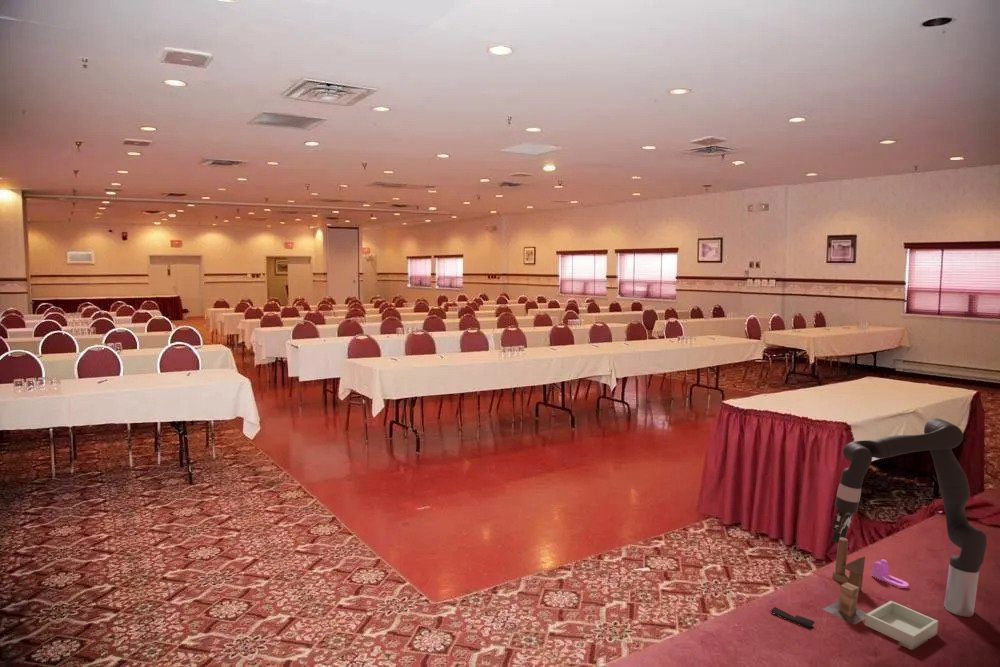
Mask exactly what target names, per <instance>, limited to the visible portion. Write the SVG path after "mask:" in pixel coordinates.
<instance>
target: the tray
mask: <svg viewBox="0 0 1000 667" xmlns="http://www.w3.org/2000/svg"><path fill="white" fill-rule="evenodd" d="M866 613H867V614H866V617H865V619H864V626H866V627H867V628H870V629H872V630H875V631H877V632H879V633H881V634H882V635H885V636H887V637H890V638H891V639H894V640H896V641H897V642H898V643H897V644H898V645H901V646H902V647H904V648H907V649H909V650H911V651H914V650H915V649H916V648H918V647H920V646H921V645H922V644H924V643H926V642H928V641H929V640H930V639H932V638H933V637H935V636H937V634H938V627H939V620H938V619H935V618H932V617H931V616H928V615H926V614H923V613H921V612H918V611H916V610H914V609H911V608H909V607H907V606H905V605H903V604H900V603H898V602H895V601H893V600H889V601H888V602H886V603H883V604H882V605H881V606H878V607H876V608H875V609H872V610H871V611H869V612H866ZM928 639H929V640H928Z"/></svg>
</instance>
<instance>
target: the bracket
mask: <svg viewBox="0 0 1000 667" xmlns="http://www.w3.org/2000/svg"><path fill="white" fill-rule="evenodd" d="M889 566H890V563H889V562H888V561H887V560H886V559H879V560H878V561H875V562H873V563H872V566H871V574H870V577H871V576H873V577H875V578H874V579H876V578H877V579H876V580H878V579H879V580H878V581H880V580H882V581H881V582H883V581H885V582H887V583H886V584H888V583H890V584H892V585H895V586H897V587H900V588H908V589H909V585H910V584H909V583H908V582H907V581H905V580H903V579H901V578H897V577H895V576H893V575H890V574H889ZM873 577H872V578H873ZM885 582H884V583H885ZM897 582H898V583H897ZM890 584H889V585H890ZM892 585H891V586H892ZM895 586H894V587H895ZM897 587H896V588H897ZM900 588H899V589H900Z"/></svg>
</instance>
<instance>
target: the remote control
mask: <svg viewBox="0 0 1000 667" xmlns="http://www.w3.org/2000/svg"><path fill="white" fill-rule="evenodd" d="M771 612H772V613H775V614H776V615H779V616H781V617H783V618H786V619H788V620H790V621H789V622H791V621H792V622H791V623H793V622H795V623H794V624H796V623H797V624H796V625H798V624H800V625H799V626H801V625H802V626H801V627H803V626H804V628H806V627H807V628H806V629H809V630H813V629H814V628H815V626H813V625H814V624H815V623H816V622H815V621H814V620H812V619H809V618H807V617H804V616H802V615H801V616H800V615H795V616H793V615H791V614H790V613H787V612H786V611H783V609H780V608H778V607H773V608H771V610H770V613H771ZM781 617H780V618H781ZM783 618H782V619H783ZM786 619H785V620H786ZM788 620H787V621H788Z"/></svg>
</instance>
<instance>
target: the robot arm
mask: <svg viewBox="0 0 1000 667" xmlns="http://www.w3.org/2000/svg"><path fill="white" fill-rule="evenodd" d="M923 428H924V430H923V433H920V434H902V435H900V434H898V435H897V434H896V435H891V436H885V437H881V438H877V439H867V440H854V441H851V442H849V443H847V444H846V445H845V446H844V447H843V449H842V454H843V456H844V458H845V459H846V460H848V461H849V462H850V464H849V467H845V468H844V469H843V470H842V473H841V477H840V481H839V484H838V487H837V492H836V497H835V501H834V505H833V506H834V507H835V508H836V509H837V510H838V513H837V514H835V515H834V520H833V524H832V528H831V530H832V531H833V533H832V539H831V541H832V542H834V543H836V544H838V542H839V540H840V538H841V537H842V538H847V534H848V530H849V528H850V526H851V525H852V520H853V516H854V514H856V513H857V512H858V508H859V504H860V500H861V494H862V487H863V482H864V477H865V476H866V475H867V472H868V470H869V469H870V466H871V464H872V461H873V458H874V459H875V458H876V459H880V460H881V459H887V458H893V457H896V456H901V455H905V454H911V453H916V452H918V453H919V452H925V451H929V452H930V454H931V458H932V460H933V466H934V469H935V474H936V477H937V483H938V487H939V491H940V496H941V499H942V504H943V508H944V512H945V519H946V520H945V521H946V530H947V531H946V532H947V536H948V539H949V540H950V542H951V543H952V544H953V545H955V546H957V547H958V548H960V549H961V550H960V553H959V554H953V555H951V556H950V559H949V565H948V572H947V582H946V589H945V595H944V604H943V608H944V607H945V608H944V609H945V610H946V611H948V612H949V613H950V614H951V613H952V614H953V615H956V616H959V617H967V618H968V617H969V618H970V617H972V616H973V615H974V614H975V605H976V604H975V603H976V597H977V592H978V590H977V589H978V583H979V574H980V568H981V567H982V565H983V563H984V559H985V555H986V550H987V544H988V542H987V541H988V539H987V536H986V533H985V532H984V531H983V530H981V529H979V528H977V527H975V526H973V525H971V524H970V523H969V521H968V518H967V514H966V506H967V504H968V502H969V501H970V497H971V490H970V485H969V480H968V477H967V474H966V472H965V471H964V469H963V466H961V464H960V462H959V460H958V459H957V457H956V456H955V454H954V452H953V449H955V448H956V447H958V446H960V444H961V443H962V442H963V440H964V433H963V430H962V429H961V428H960V427H958V426H957V425H955V424H953V423H951V422H949V421H946V420H944V419H942V418H938V417H937V418H931V419H930V420H928V421H927V422H926V424H924V427H923ZM837 527H838V528H837Z"/></svg>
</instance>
